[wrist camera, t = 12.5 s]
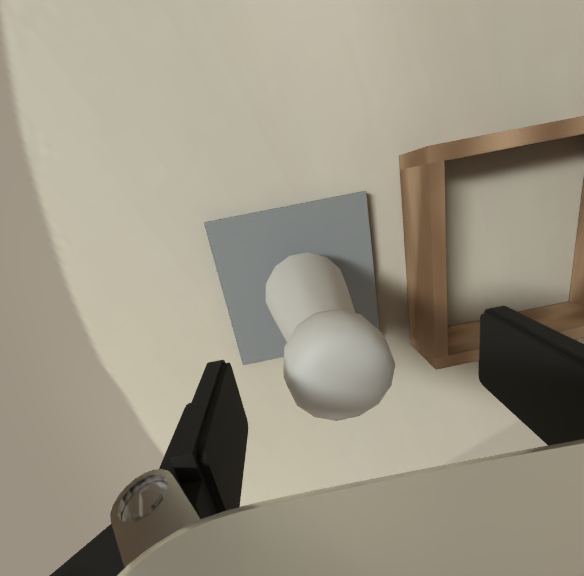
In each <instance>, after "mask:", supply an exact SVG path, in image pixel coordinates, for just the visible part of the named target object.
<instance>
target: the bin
mask: <svg viewBox="0 0 584 576" xmlns="http://www.w3.org/2000/svg"><path fill="white" fill-rule="evenodd" d="M583 134H584V116H581V117H576V118H571V119H566V120H561V121H555V122H550V123H545V124H540V125H535V126H529V127H524V128H519V129H514V130H509V131H503V132H498V133H493V134H488V135H483V136H477V137H472V138H467V139H462V140H457V141H451V142H446V143H441V144H436V145H431V146H427V147H424V148H421V149H418V150H415V151H412V152H409V153H406V154H403V155H400V156H399V165H400V180H401V196H402V212H403V227H404V243H405V259H406V274H407V290H408V305H409V321H410V337H411V345H412V346H413V347H414V348H415V349H416V350H417V351H418V352H419V353H420V354H421V355H422V356H423V357H424V358H425V359H426V360H427V361H428V362H429V363H430V364H431V365H432V366H433V367H434V368H435V369H441V368H445V367H450V366H455V365H459V364H464V363H468V362H473V361H478V360H479V344H480V320H479V321H474V322H469V323H465V324H460V325H455V326H451V327H448V321H447V269H446V217H445V165H444V161H449V160H454V159H459V158H465V157H470V156H475V155H480V154H485V153H490V152H495V151H501V150H506V149H511V148H516V147H521V146H526V145H531V144H537V143H542V142H547V141H552V140H557V139H562V138H567V137H573V136H578V135H583ZM518 313H520V314H523V315H525V316H527V317H529V318H531V319H533V320H535V321H537V322H539V323H541V324H543V325H545V326H547V327H549V328H551V329H553V330H555V331H558V332H560V333H562V334H564V335H566V336H568V337H570V338H572V339H574V340H575V339H579V338H584V180H583V189H582V197H581V205H580V213H579V222H578V230H577V238H576V246H575V255H574V263H573V271H572V279H571V288H570V296H569V301H568V302H564V303H559V304H554V305H550V306H545V307H540V308H535V309H531V310H526V311H521V312H518Z"/></svg>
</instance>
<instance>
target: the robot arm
mask: <svg viewBox="0 0 584 576" xmlns="http://www.w3.org/2000/svg"><path fill="white" fill-rule="evenodd" d="M479 380H480V382H481V383H482V385H483V386H484V387H485V388H486V389H487V390H488V391H490V392H491V393H492V394H493V395H494V396H495V397H496V398H497V399H498V400H499V401H500V402H501V403H503V404H504V405H505V406H506V407H507V408H508V409H509V410H510V411H511V412H512V413H513V414H515V415H516V416H517V417H518V418H519V419H520V420H521V421H522V422H523V423H524V424H526V425H527V426H528V427H529V428H530V429H531V430H532V431H533V432H534V433H535V434H536V435H537V436H538V437H540V438H541V439H542V440H543V441H544V442H545V443H546V444H547V445H548V446H544V447H538V448H533V449H527V450H522V451H517V452H511V453H506V454H500V455H495V456H490V457H484V458H479V459H474V460H469V461H463V462H458V463H453V464H448V465H442V466H437V467H432V468H427V469H421V470H416V471H411V472H406V473H401V474H395V475H390V476H385V477H380V478H375V479H370V480H365V481H360V482H355V483H350V484H345V485H340V486H335V487H330V488H324V489H319V490H314V491H309V492H305V493H300V494H295V495H291V496H286V497H281V498H277V499H272V500H267V501H263V502H258V503H254V504H250V505H246V506H242V507H239V506H240V497H241V488H242V480H243V471H244V462H245V453H246V444H247V436H248V422H247V418H246V414H245V411H244V408H243V404H242V401H241V397H240V394H239V391H238V387H237V384H236V380H235V377H234V374H233V370H232V367H231V364H230V363H225V361H224V360H220V361H214V362H209V363H207V365H206V368H205V370H204V373H203V375H202V378H201V380H200V383H199V385H198V388H197V390H196V393H195V395H194V398H193V400H192V403H189V404H187V405H186V407H185V409H184V411H183V414H182V416H181V418H180V421H179V423H178V425H177V428H176V430H175V433H174V435H173V437H172V440H171V442H170V444H169V447H168V449H167V452H166V454H165V456H164V459H163V461H162V463H161V466H160V468H159V469H158V470H152V471H149V472H146V473H144V474H143V475H141V476H139V477H137V478H136V479H134V480H133V481H132V482H131V483H130V484H129V485H127V486H126V487H125V488H124V490H123V491H122V492H121V493H120V494H119V496H118V497H117V499H116V501H115V502H114V504H113V507H112V510H111V514H110V517H111V525H109V526H108V527H107V528H106V529H105V530H103V531H102V532H101V533H100V534H99V535H98V536H96V537H95V538H94V539H93V540H92V541H91V542H89V543H88V544H87V545H86V546H84V548H82V549H81V550H80V551H79V552H77V553H76V554H75V555H74V556H73V557H71V558H70V559H69V560H68V561H67V562H65V563H64V564H63V565H62V566H61V567H60V568H58V569H57V570H56V571H55V572H54V573H52V574H51V575H50V576H584V344H582V343H580V342H578V341H576V340H574V339H572V338H570V337H568V336H566V335H564V334H562V333H560V332H558V331H555V330H553V329H551V328H549V327H547V326H545V325H543V324H541V323H539V322H537V321H535V320H533V319H531V318H529V317H527V316H525V315H523V314H520V313H518V312H516V311H514V310H512V309H510V308H508V307H506V306H500V307H495V308H490V309H486V310H485V312H484V314H482V315H481V317H480V344H479Z"/></svg>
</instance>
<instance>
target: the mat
mask: <svg viewBox="0 0 584 576" xmlns="http://www.w3.org/2000/svg"><path fill="white" fill-rule="evenodd" d="M204 225H205V228H206V232H207V236H208V239H209V243H210V247H211V250H212V254H213V257H214V261H215V265H216V268H217V272H218V276H219V279H220V283H221V287H222V290H223V294H224V298H225V301H226V305H227V308H228V312H229V316H230V319H231V323H232V327H233V330H234V334H235V338H236V341H237V345H238V349H239V352H240V356H241V359H242V363H243V365H246V364H251V363H256V362H261V361H265V360H270V359H275V358H279V357H284V347H285V345H286V343H287V342H286V340H285V338H284V336H283V334H282V333H281V331H280V329H279V327H278V326H277V324H276V322H275V320H274V318H273V316H272V314H271V312H270V310H269V308H268V306H267V304H266V283H267V281H268V279H269V277H270V275H271V273H272V271H273V270H274V268H275V266H276V265H278V264H279V263H280V262H282V261H283V260H285V259H286V258H287V257H289V256H291V255H296V254H301V253H306V252H308V253H312V254H316V255H320V256H324V257H327V258H328V259H329V260H331V261H332V262H333V263H334V264H335V265H336V266H337V267H338V268H339V269H340V270H341V273H342V275H343V278H344V280H345V283H346V285H347V288H348V291H349V294H350V298H351V301H352V304H353V307H354V310H355V313H356V314H361V315H362V316H363V317H364V318H365V319H366V320H368V321H369V322H370V323H371V324H372V325H373V326H374V327H376V328H377V329H378V330H379V331H380V326H379V316H378V306H377V296H376V286H375V276H374V266H373V256H372V246H371V236H370V226H369V216H368V206H367V196H366V191H363V192H357V193H352V194H347V195H342V196H337V197H332V198H327V199H322V200H317V201H311V202H306V203H301V204H296V205H291V206H286V207H281V208H276V209H271V210H266V211H260V212H255V213H250V214H245V215H240V216H235V217H230V218H225V219H220V220H215V221H209V222H205V223H204Z"/></svg>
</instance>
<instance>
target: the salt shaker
mask: <svg viewBox="0 0 584 576" xmlns="http://www.w3.org/2000/svg"><path fill="white" fill-rule="evenodd" d="M266 304H267V306H268V308H269V310H270V312H271V314H272V316H273V318H274V320H275V322H276V324H277V326H278V327H279V329H280V331H281V333H282V334H283V336H284V338H285V340H286V342H287V343H286V345H285V347H284V379H285V381H286V384H287V386H288V388H289V390H290V392H291V394H292V396H293V398H294V400H295V402H296V404H297V406H299V407H300V408H302V409H303V410H305V411H306V412H308V413H309V414H311V415H312V416H314V417H318V418H323V419H329V420H334V421H338V420H343V419H347V418H352V417H356V416H360V415H361V414H363V413H365V412H366V411H368V410H369V409H371V408H372V407H374V406H376V405H377V404H379V402H380V401H381V400H382V398H383V397H384V395H385V394H386V392H387V391H388V389H389V388H390V387H391V384H392V379H393V374H394V368H395V362H394V360H393V357H392V354H391V352H390V349H389V346H388V344H387V342H386V339H385V337H384V335H383V334H382V333H381V332H380V331H379V330H378V329H377V328H376V327H374V326H373V325H372V324H371V323H370V322H369V321H368V320H366V319H365V318H364V317H363V316H362V315H361V314H356V313H355V310H354V307H353V304H352V301H351V298H350V294H349V291H348V288H347V285H346V283H345V280H344V278H343V275H342V273H341V270H340V269H339V268H338V267H337V266H336V265H335V264H334V263H333V262H332V261H331V260H329V259H328V258H327V257H324V256H320V255H316V254H312V253H308V252H306V253H301V254H296V255H291V256H289V257H287V258H286V259H285V260H283V261H282V262H280V263H279V264H278V265H276V266H275V268H274V270H273V271H272V273H271V275H270V277H269V279H268V281H267V283H266Z"/></svg>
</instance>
